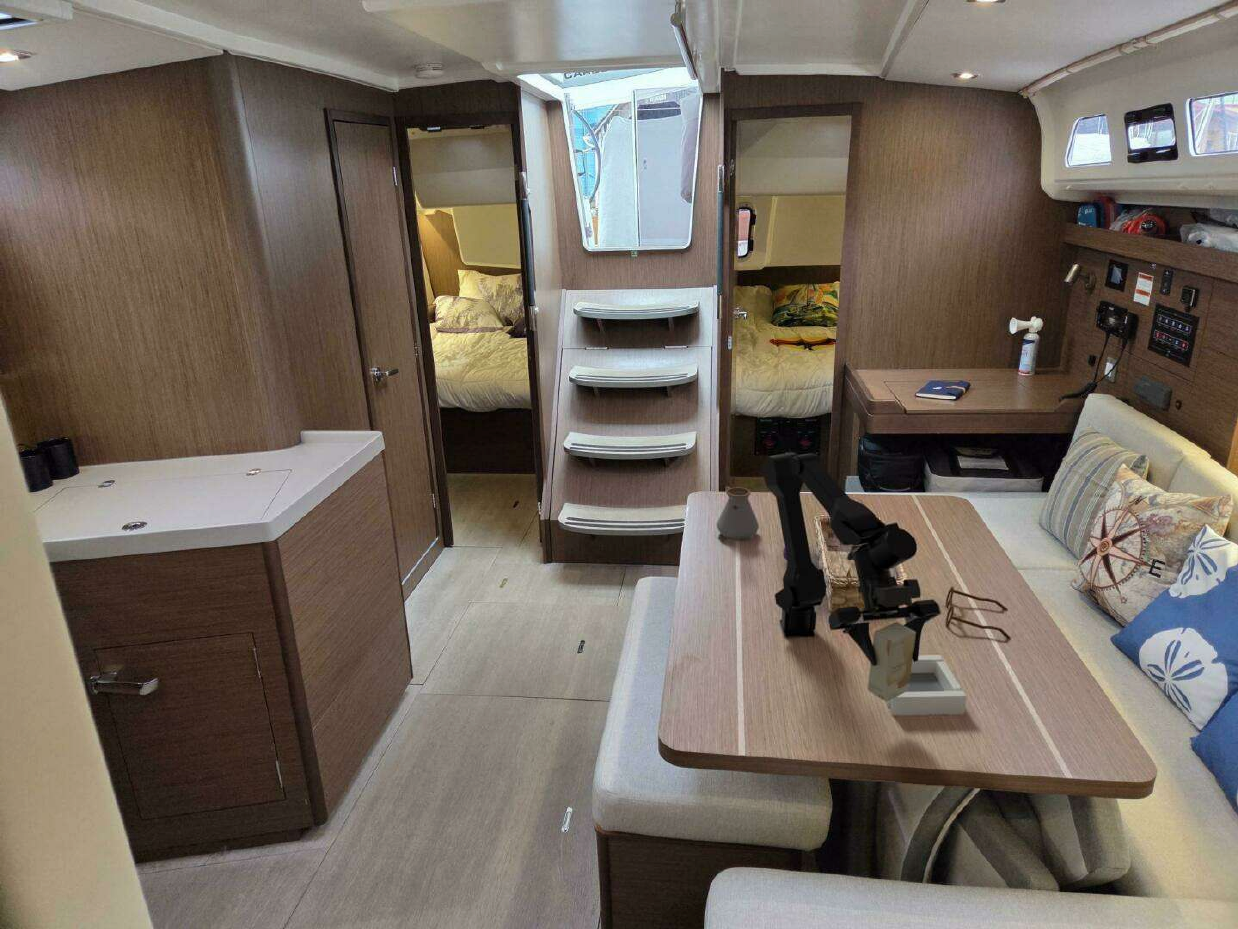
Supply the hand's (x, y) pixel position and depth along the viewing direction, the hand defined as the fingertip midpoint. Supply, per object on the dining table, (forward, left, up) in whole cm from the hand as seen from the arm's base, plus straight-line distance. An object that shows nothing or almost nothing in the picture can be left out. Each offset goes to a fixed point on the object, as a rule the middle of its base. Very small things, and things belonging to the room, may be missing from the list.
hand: (895, 663), depth 139 cm
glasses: (+30, +35, -14) cm, 49 cm away
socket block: (+8, +9, -13) cm, 18 cm away
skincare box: (0, +1, -7) cm, 7 cm away
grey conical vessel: (-17, +76, -13) cm, 79 cm away
